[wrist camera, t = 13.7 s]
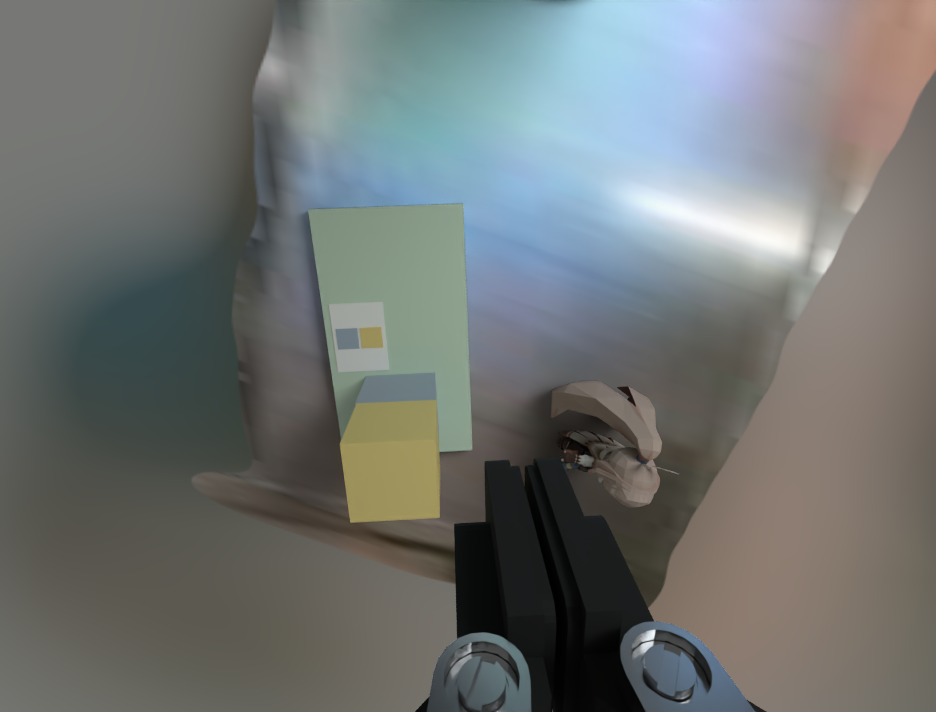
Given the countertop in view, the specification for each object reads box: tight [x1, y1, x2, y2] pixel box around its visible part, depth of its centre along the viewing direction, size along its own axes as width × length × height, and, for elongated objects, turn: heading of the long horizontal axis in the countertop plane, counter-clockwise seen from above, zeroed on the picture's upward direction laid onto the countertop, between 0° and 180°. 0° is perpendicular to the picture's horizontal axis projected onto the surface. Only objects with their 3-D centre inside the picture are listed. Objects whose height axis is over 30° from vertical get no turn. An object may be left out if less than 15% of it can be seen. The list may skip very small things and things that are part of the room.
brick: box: [340, 400, 440, 523], centre depth 33 cm, size 6×6×6 cm
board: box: [308, 203, 472, 452], centre depth 40 cm, size 22×12×1 cm, turn 2°
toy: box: [551, 381, 678, 507], centre depth 38 cm, size 9×8×15 cm
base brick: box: [354, 372, 439, 437], centre depth 39 cm, size 6×6×6 cm
